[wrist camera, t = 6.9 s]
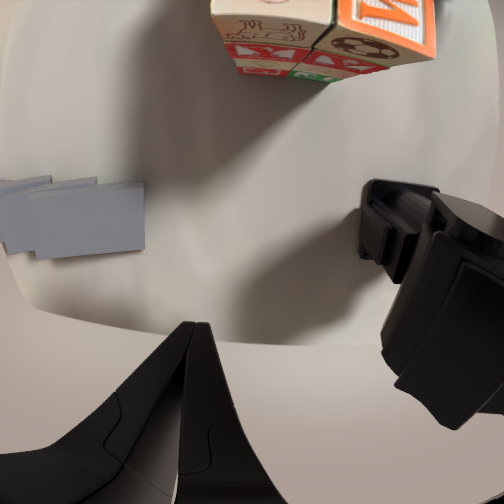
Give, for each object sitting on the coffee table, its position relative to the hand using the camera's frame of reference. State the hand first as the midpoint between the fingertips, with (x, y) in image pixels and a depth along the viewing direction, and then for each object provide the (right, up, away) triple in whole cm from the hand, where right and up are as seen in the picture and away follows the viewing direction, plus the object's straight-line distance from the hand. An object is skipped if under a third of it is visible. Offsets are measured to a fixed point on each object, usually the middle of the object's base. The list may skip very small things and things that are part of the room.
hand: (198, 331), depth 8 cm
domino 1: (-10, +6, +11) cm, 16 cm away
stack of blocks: (+5, +23, +2) cm, 24 cm away
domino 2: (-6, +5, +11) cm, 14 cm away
